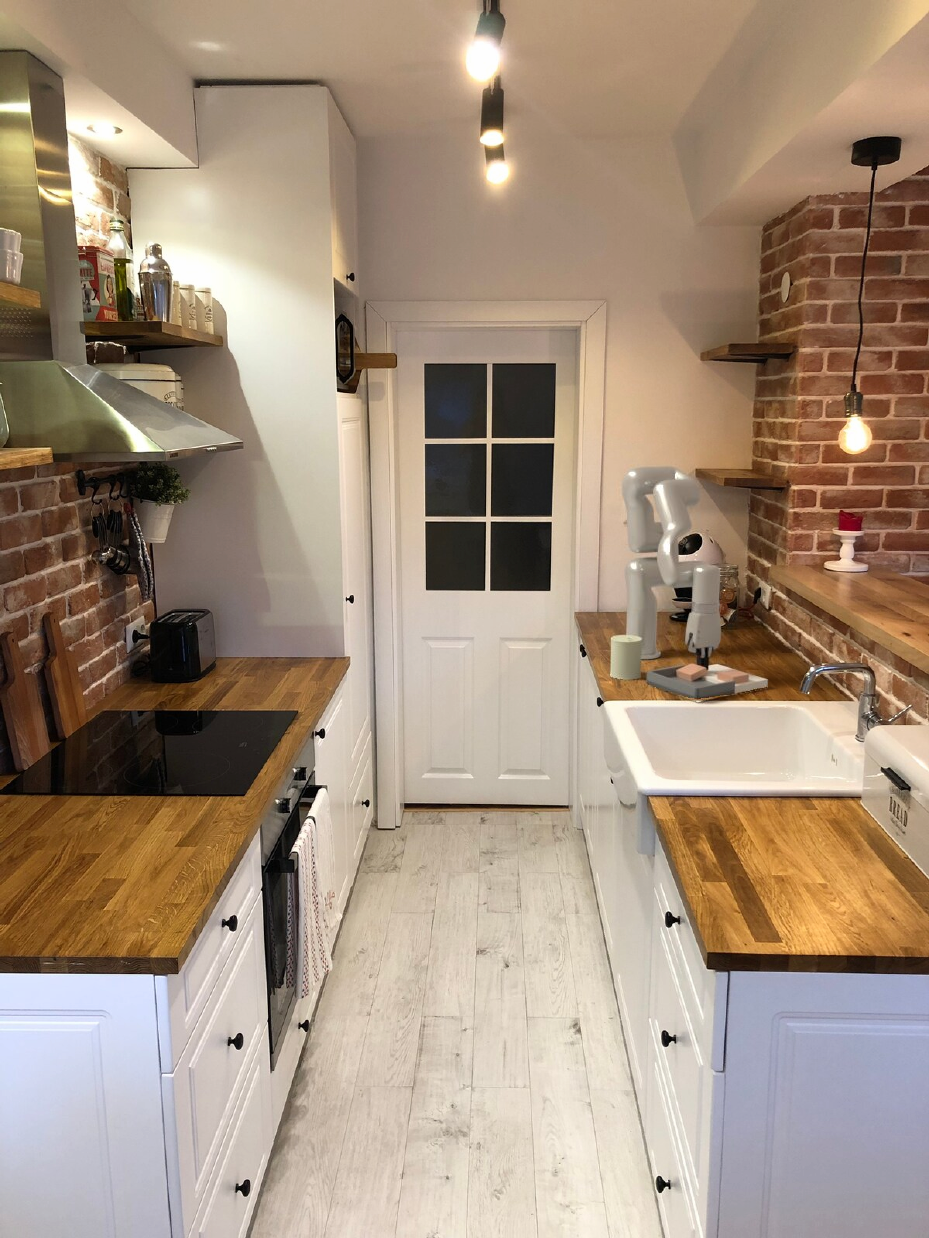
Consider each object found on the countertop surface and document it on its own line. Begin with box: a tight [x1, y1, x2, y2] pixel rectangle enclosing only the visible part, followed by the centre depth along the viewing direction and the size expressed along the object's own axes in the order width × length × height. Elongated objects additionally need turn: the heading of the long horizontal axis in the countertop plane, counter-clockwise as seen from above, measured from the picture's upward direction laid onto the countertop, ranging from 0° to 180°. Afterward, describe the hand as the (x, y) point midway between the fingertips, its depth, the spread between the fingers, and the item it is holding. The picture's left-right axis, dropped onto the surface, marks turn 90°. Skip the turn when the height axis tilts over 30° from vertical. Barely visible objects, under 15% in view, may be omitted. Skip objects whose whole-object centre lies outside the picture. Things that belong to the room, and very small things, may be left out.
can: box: [609, 634, 642, 681], centre depth 288 cm, size 9×9×12 cm
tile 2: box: [717, 669, 750, 684], centre depth 274 cm, size 6×6×2 cm
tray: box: [645, 664, 736, 699], centre depth 274 cm, size 21×14×4 cm
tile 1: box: [676, 662, 707, 681], centre depth 281 cm, size 6×6×2 cm
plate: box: [700, 663, 769, 693], centre depth 281 cm, size 20×13×2 cm, turn 30°
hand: (702, 669), depth 283 cm, fingers closed
